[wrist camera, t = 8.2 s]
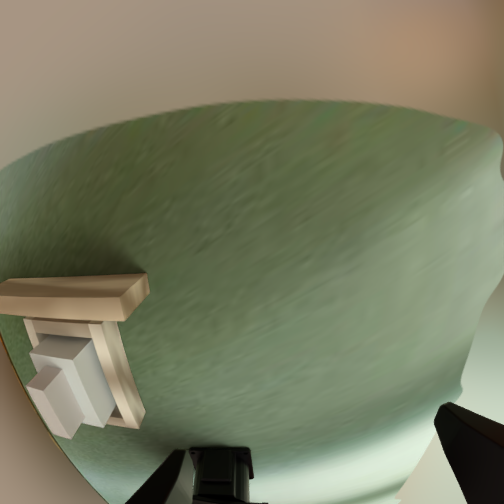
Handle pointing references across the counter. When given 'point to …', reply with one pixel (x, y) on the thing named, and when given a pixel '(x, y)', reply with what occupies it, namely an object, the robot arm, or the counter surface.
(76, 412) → the grey stepped block
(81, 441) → the counter surface
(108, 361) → the stand
